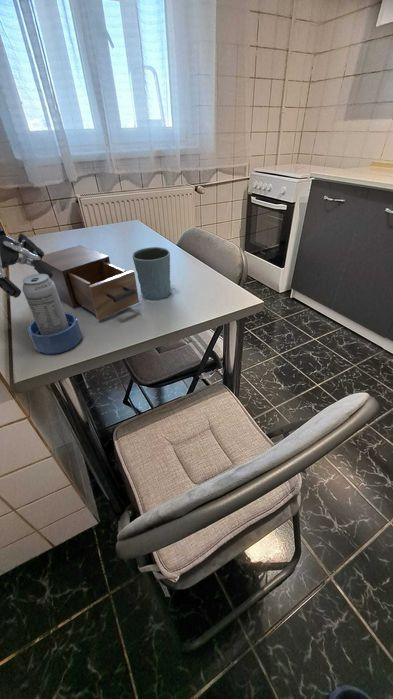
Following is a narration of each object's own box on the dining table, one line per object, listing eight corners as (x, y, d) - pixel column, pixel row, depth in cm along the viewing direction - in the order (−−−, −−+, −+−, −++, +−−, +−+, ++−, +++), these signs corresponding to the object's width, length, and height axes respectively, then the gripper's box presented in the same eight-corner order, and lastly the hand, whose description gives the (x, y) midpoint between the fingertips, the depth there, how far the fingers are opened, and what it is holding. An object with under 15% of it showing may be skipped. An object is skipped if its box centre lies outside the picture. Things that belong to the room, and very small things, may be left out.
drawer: (148, 307, 78) (144, 275, 73) (108, 326, 71) (100, 292, 66) (109, 287, 89) (102, 258, 83) (70, 302, 82) (60, 271, 76)
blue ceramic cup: (177, 287, 89) (175, 248, 82) (165, 303, 82) (161, 261, 75) (147, 284, 92) (142, 245, 85) (132, 299, 84) (125, 258, 77)
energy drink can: (75, 331, 70) (55, 271, 61) (67, 346, 65) (45, 284, 56) (50, 333, 70) (26, 273, 61) (40, 348, 65) (13, 285, 56)
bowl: (48, 361, 62) (39, 342, 59) (28, 343, 68) (19, 324, 65) (90, 340, 68) (85, 322, 65) (69, 325, 74) (63, 307, 71)
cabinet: (116, 291, 88) (108, 256, 82) (73, 308, 81) (62, 271, 74) (88, 277, 97) (80, 245, 91) (48, 292, 89) (35, 257, 83)
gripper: (-69, 217, 49) (11, 290, 52) (3, 200, 59) (66, 262, 63) (-72, 247, 53) (2, 312, 57) (-5, 226, 64) (54, 282, 68)
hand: (35, 285), depth 60 cm, fingers open, 8 cm apart
